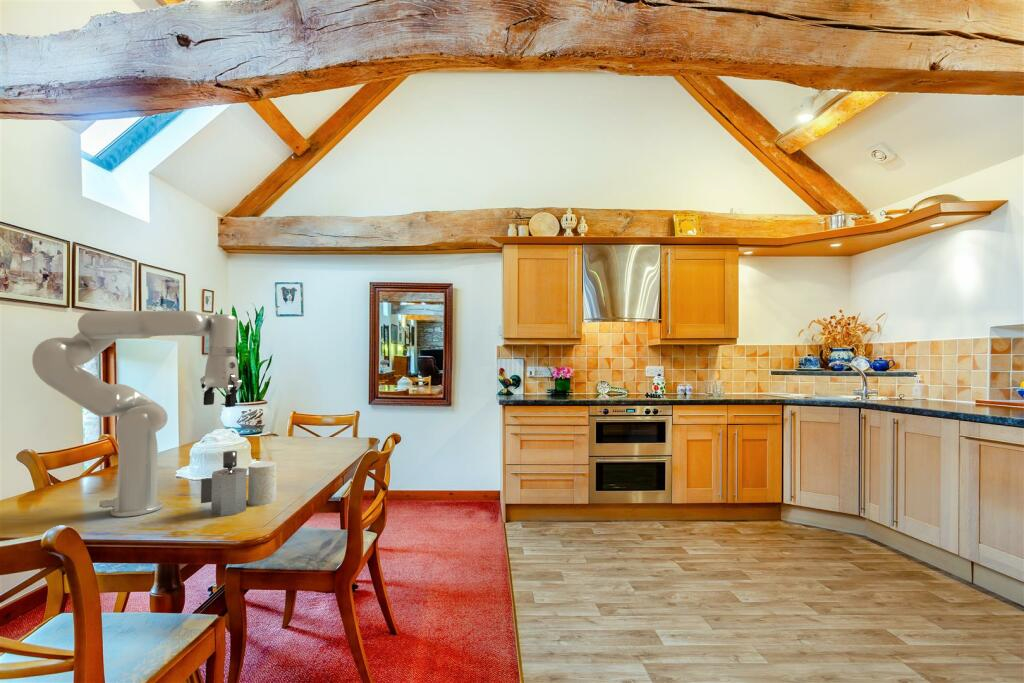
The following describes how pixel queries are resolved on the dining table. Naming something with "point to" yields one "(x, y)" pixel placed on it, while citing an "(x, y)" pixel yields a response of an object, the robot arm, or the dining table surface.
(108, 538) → the dining table surface
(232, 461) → the plunger
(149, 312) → the robot arm
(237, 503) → the octagonal faceted vessel
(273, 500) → the light grey cylinder
